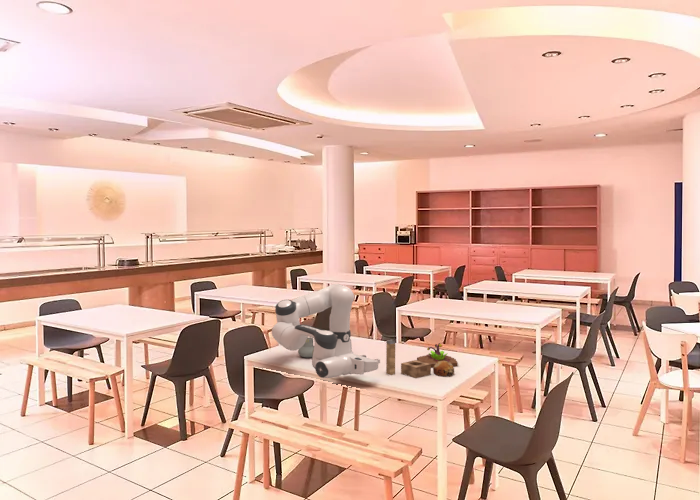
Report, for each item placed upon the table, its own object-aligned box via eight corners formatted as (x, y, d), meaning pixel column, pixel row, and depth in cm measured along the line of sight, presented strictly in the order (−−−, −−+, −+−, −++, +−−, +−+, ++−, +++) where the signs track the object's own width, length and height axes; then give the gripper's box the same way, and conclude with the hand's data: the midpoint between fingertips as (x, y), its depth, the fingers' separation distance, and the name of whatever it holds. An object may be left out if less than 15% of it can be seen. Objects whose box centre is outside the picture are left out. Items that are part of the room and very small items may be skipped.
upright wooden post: (386, 373, 248) (386, 340, 248) (390, 372, 250) (391, 339, 250) (390, 374, 246) (390, 341, 245) (395, 373, 248) (395, 340, 247)
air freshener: (310, 359, 274) (310, 341, 274) (296, 358, 277) (296, 339, 276) (318, 355, 284) (318, 337, 284) (304, 353, 287) (305, 335, 287)
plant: (427, 370, 256) (427, 347, 256) (412, 360, 275) (412, 339, 275) (464, 367, 261) (464, 345, 261) (447, 358, 280) (447, 337, 280)
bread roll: (452, 379, 252) (451, 362, 255) (457, 375, 243) (455, 358, 246) (432, 379, 252) (431, 363, 255) (436, 376, 242) (435, 358, 245)
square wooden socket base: (401, 373, 248) (401, 363, 248) (415, 370, 255) (415, 360, 255) (416, 378, 241) (416, 367, 241) (430, 374, 247) (430, 364, 247)
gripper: (334, 365, 239) (357, 361, 248) (363, 375, 224) (386, 370, 232) (334, 352, 239) (357, 348, 248) (363, 361, 223) (387, 356, 232)
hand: (372, 358), depth 240 cm, fingers open, 8 cm apart
